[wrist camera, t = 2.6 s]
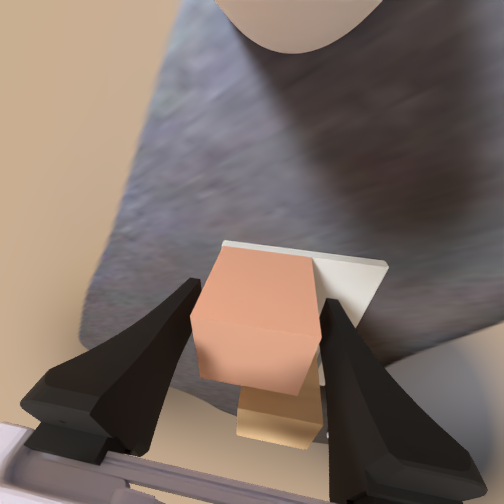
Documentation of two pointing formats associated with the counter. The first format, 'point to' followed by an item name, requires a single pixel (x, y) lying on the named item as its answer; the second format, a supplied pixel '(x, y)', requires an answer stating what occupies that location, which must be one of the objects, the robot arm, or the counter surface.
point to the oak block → (282, 413)
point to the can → (296, 21)
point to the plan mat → (336, 281)
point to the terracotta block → (257, 320)
